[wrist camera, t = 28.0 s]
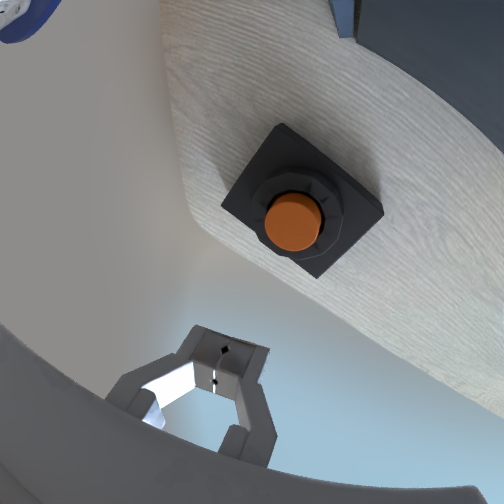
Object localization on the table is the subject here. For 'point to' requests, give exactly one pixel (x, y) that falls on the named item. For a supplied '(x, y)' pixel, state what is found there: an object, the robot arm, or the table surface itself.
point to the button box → (307, 183)
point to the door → (343, 16)
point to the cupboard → (445, 52)
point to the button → (293, 222)
